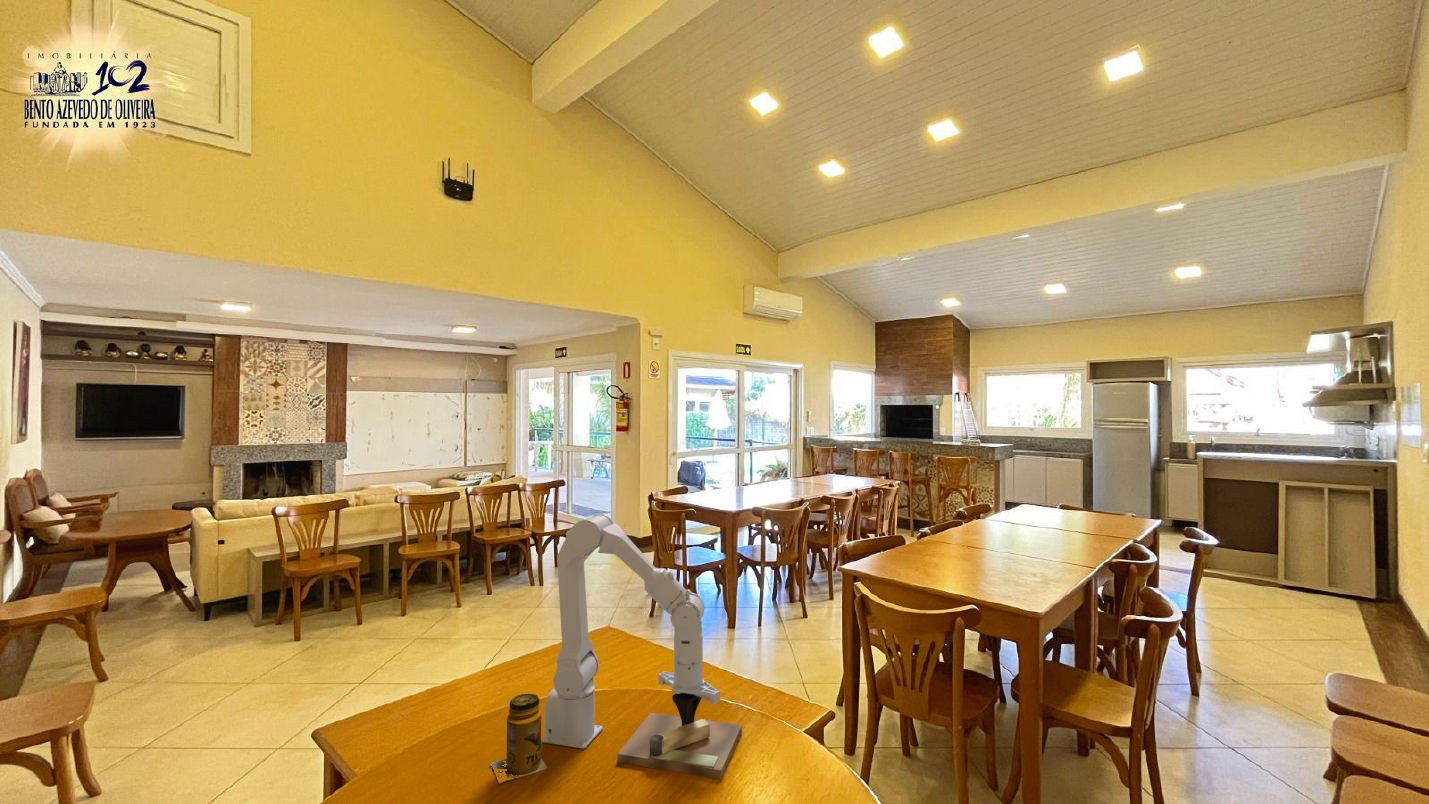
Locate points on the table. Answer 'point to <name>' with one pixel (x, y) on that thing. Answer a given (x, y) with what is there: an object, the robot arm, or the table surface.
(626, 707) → the table surface
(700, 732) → the leg
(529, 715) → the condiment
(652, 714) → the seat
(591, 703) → the robot arm
